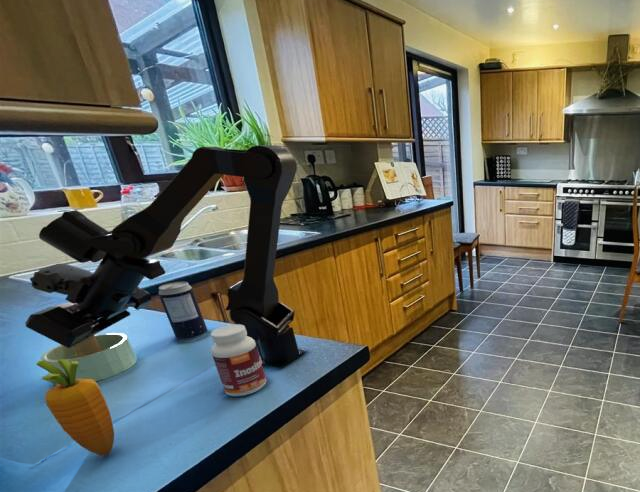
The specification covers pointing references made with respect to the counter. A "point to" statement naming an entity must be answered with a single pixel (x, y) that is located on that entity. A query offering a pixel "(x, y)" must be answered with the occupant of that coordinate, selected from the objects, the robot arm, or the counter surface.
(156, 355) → the counter surface
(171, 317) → the dark blue jar
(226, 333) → the pill bottle
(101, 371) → the bowl
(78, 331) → the robot arm
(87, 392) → the carrot
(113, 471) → the counter surface
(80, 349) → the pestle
